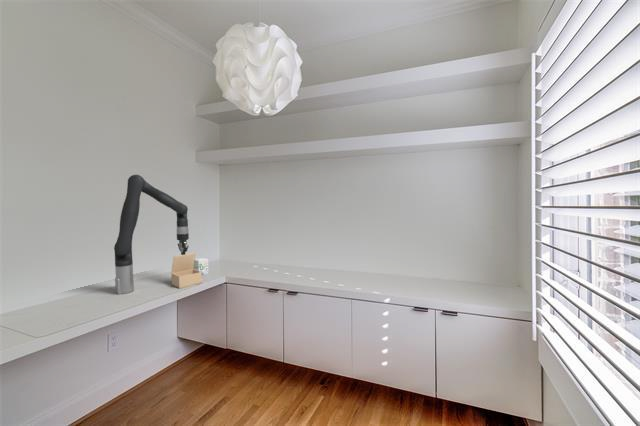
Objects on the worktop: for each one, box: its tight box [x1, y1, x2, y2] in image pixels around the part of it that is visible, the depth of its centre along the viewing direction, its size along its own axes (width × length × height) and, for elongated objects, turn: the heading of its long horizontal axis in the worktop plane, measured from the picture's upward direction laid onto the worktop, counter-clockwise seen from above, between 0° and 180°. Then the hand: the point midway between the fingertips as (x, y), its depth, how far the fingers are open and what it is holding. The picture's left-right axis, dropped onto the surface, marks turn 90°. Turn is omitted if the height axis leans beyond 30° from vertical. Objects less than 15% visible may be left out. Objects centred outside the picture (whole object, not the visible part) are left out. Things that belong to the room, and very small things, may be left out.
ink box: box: [193, 257, 209, 276], centre depth 229 cm, size 8×8×12 cm
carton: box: [171, 269, 203, 290], centre depth 201 cm, size 15×13×8 cm
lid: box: [171, 252, 196, 273], centre depth 204 cm, size 15×13×1 cm
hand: (183, 257), depth 203 cm, fingers closed
